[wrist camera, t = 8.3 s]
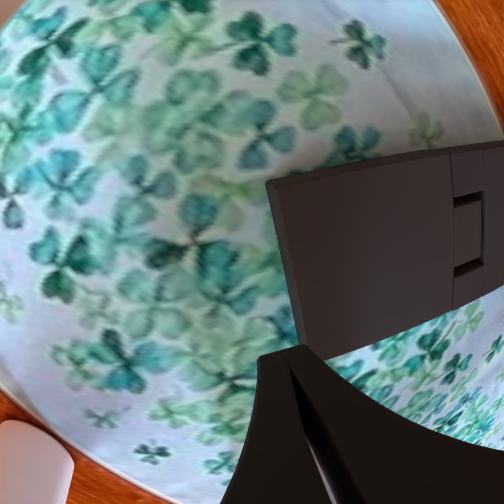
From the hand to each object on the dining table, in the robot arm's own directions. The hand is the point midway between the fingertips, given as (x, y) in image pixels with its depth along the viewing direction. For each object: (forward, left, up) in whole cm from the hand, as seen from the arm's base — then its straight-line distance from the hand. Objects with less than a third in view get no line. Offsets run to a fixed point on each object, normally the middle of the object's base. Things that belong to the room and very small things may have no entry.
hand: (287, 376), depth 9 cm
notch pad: (0, -13, -6) cm, 15 cm away
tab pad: (0, -5, -6) cm, 8 cm away
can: (-9, +19, -6) cm, 21 cm away
